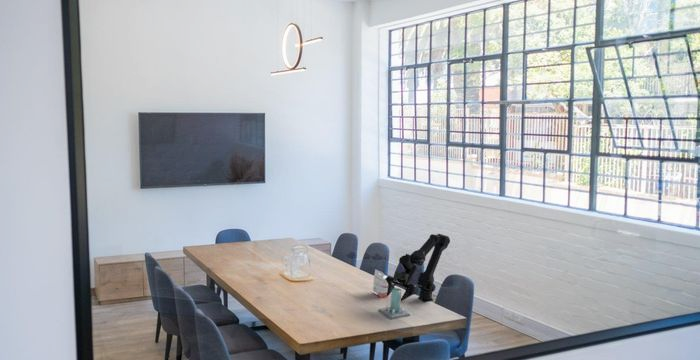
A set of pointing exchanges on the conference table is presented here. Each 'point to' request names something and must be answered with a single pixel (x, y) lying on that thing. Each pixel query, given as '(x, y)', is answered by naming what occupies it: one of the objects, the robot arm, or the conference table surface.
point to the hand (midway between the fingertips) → (394, 298)
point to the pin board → (394, 315)
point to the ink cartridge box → (380, 284)
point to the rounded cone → (395, 300)
